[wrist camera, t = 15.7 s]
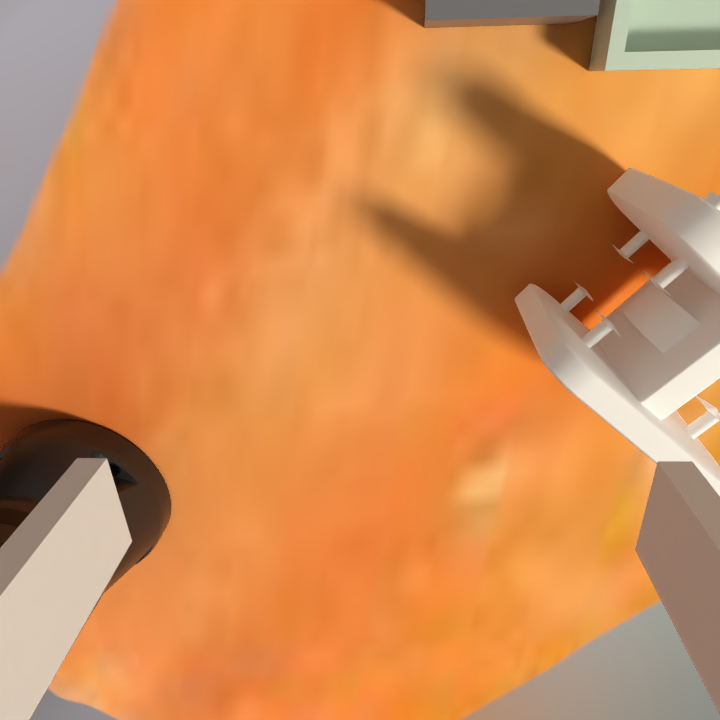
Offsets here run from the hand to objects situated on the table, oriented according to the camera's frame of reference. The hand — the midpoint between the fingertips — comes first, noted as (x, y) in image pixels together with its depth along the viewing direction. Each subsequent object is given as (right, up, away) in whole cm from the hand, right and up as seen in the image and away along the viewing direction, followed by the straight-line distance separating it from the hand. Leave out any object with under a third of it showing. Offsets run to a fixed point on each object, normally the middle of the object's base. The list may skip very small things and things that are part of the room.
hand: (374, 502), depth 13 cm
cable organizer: (+18, +8, +23) cm, 30 cm away
